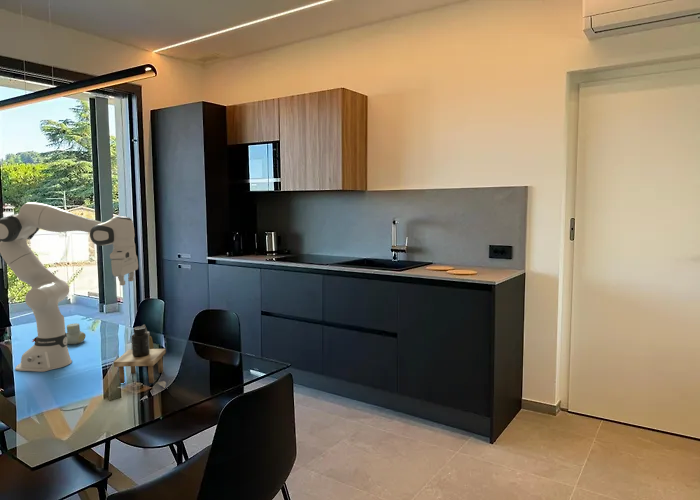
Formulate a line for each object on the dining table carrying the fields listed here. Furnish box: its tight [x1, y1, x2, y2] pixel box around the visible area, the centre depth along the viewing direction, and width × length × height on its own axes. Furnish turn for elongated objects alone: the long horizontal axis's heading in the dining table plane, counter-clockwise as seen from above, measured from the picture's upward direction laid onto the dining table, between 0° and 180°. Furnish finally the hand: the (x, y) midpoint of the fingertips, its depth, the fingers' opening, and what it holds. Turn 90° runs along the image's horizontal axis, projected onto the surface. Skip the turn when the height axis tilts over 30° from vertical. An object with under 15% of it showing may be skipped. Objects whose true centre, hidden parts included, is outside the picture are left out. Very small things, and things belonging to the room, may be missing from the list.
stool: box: [113, 348, 167, 384], centre depth 214 cm, size 16×16×10 cm
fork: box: [155, 380, 167, 389], centre depth 201 cm, size 3×21×3 cm, turn 41°
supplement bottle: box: [130, 325, 150, 357], centre depth 213 cm, size 7×7×12 cm
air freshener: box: [66, 322, 86, 345], centre depth 263 cm, size 11×8×10 cm
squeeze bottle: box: [141, 324, 155, 349], centre depth 232 cm, size 8×8×18 cm
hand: (127, 283), depth 222 cm, fingers open, 8 cm apart
